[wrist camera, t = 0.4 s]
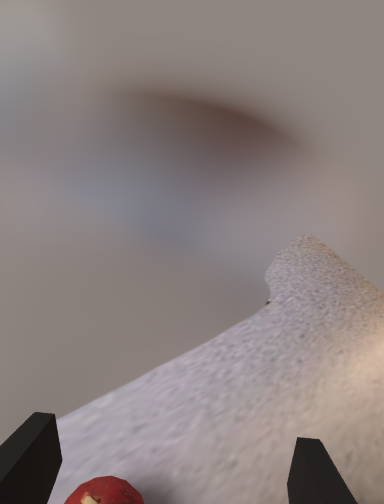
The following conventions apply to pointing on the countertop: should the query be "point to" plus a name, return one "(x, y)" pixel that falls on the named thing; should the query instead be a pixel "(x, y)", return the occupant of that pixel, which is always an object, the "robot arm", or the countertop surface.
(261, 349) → the countertop surface
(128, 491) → the onion
